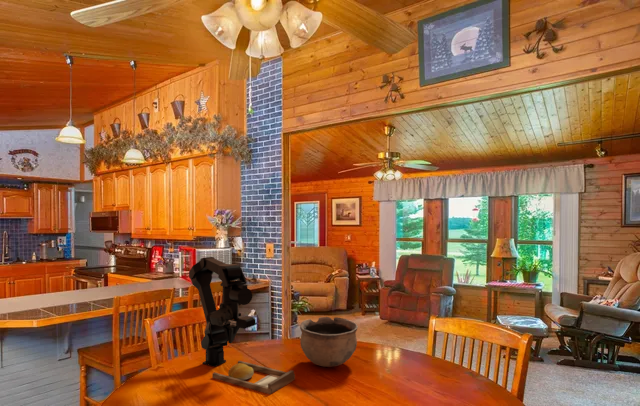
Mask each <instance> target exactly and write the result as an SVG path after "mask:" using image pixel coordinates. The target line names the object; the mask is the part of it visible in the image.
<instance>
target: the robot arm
mask: <svg viewBox="0 0 640 406" xmlns="http://www.w3.org/2000/svg"><path fill="white" fill-rule="evenodd" d="M214 273H215V274H216V275H218V277H217V278H218V279H219V280H220V281H221V283H220V287H222V302H220V303H219V308H218V309H217V305H216V303H215V300H214V299H215V298H214V295H213V291H212V287H211V282H212V280H213V274H214ZM188 277H189V279H190V281H191V284H192V286H193V287H195V288H196V290H197V291H198V294H199V299H200V303H201V307H202V311H203V314H204V318H205V322H206V325H205V328H204V336H203V338H202V339H201V341H200V344H201V348H202V349H203V350H205V361H202V364H203V365H206V366H210V367H217V366H219V365H222V364H224V363H226V362H227V360H226V359H225V351H224V347H227V346H228V344H232V343H234V340H235V338H236V336H237V333H238V331H239V329H242V330H243V329H248V328H250V327H253V326H256V319H255V317H254V316H249V315H245V316H242V312H239V310H240V308H239V307H240V306H241V305H242V306H246V305H249V304H250V302H251V301H252V299H253V293H252V292H253V291H251V290H250V288H248V284H247V281H246V280H247V277H246V276H245V274H244V271H243V269H242V268H241V266H240V264H238V263H236V264H235V263H230V264H229V263H225V262H223V261H221V260H218V259H216V258H215V257H213V256H207V257H205V256H204V257H202V258H200V259H199V261H198V262H196V263H195V264H193V265H192V267H191V268H190V270H189V271H188Z"/></svg>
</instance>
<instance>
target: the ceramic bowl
mask: <svg viewBox="0 0 640 406" xmlns="http://www.w3.org/2000/svg"><path fill="white" fill-rule="evenodd" d="M317 319H318V320H317V321H314V320H312V319H311V318H309V319H305V320H303V321H302V322H301V323H300V324H299V328H300V331H301V334H300V348H301V350H302V351H303V353H304V355H305V356H306V358H307V359H308V360H309V361H310V362H312V363H313V364H314V365H316V366H321V367H327V368H329V367H337V366H341V365H343V364H345V363H346V362H347V361H348V360H350V359H351V357H352V356H353V354H355V351H356V350H357V345H358V339H357V334H356V333H357V331H358V328H359V326H358V324H357V323H356V322H354V321H352V320H349V319H347V318H343V317H342V318H341V317H337V316H335V317H333V319H332V318H331V317H329V316H322V317H321V316H320V317H318V318H317Z"/></svg>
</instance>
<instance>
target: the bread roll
mask: <svg viewBox="0 0 640 406" xmlns="http://www.w3.org/2000/svg"><path fill="white" fill-rule="evenodd" d="M227 373H228V376H229V377H233V378H236V379H240V380H244V381H246V380H249V379H251V378H252V377H253V376H254V373H255V371H254V370H253V368H252V367H249V366H247V365H246V364H243V363H239V364H238V363H236V364H234V365H232V366H231V367H230V368H229V370H228V372H227Z"/></svg>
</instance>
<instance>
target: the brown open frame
mask: <svg viewBox="0 0 640 406" xmlns="http://www.w3.org/2000/svg"><path fill="white" fill-rule="evenodd" d="M239 363H243V364H246V365H247V366H249V367H252V368H253V371H254V372H259V373H263V374H266V376H264V377H262V378H261V379H259V380H258V381H256V382H254V383H253V382H251V381H246V380H240V379H236V378H233V377H230V376H229V375H225V374H221V373H218V372H213V373H212V374H211V375H212V379H214V380H220V381H222V382H225V383H229V384H233V385H237V386H239V387H243V388H246V389H250V390H254V391H256V392H261V393H264V394H267V395H271V394H273V393H275V392H276V391H279V390H280V389H282V388H283V387H285V386H287V385H289V384H290V383H293V381H295V380H296V375H295V370H292V369H290V370H289V371H287V372H286V371H283V370H278V369H275V368H271V367H266V366H262V365H259V364H254V363H252V362H247V361H243V360H238V361H237V364H239Z"/></svg>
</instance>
